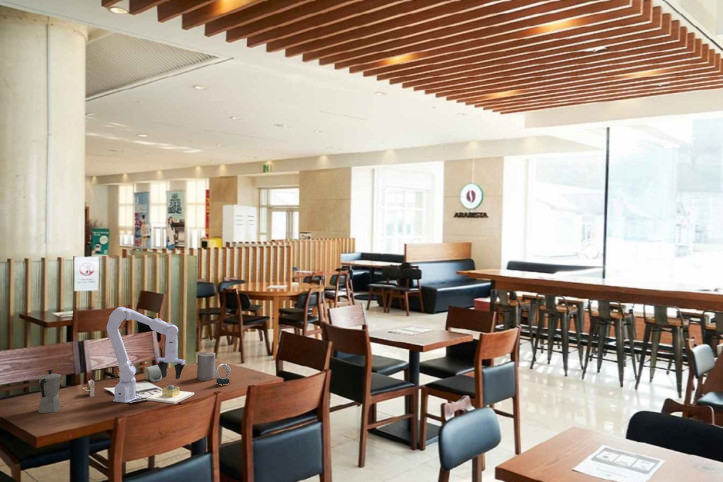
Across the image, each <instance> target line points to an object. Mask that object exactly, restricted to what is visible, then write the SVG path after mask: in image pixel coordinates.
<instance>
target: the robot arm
mask: <svg viewBox="0 0 723 482" xmlns="http://www.w3.org/2000/svg"><path fill="white" fill-rule="evenodd" d="M124 320H126V321H131V320H133V321H134V320H135V322H139V323H142V324H144V325H147V326H149V328H150V329H151V330H152V331H155V332H156V333H159V334H161V335H165V345H164V347H165V348H164V349H165V351H164V353H165V355H164V357H157V359H156V361H157V365H158V366H159V368H160V370H161V373H162V379H163V378H166V377H167V369H168V365H169V364H174V369H175V380H179V379H180V378H181V375H182V371H183V369H184V367H185V365H186V359H181V358H178V357H179V356H178V353H179V351H178V349H179V348H178V347H179V340H178V335H179V334H178V333H179V328H178V327H177V325H175V324H173V323H172V322H166V321H164V320H162V318H160V317H158V318H157V317H156V318H153V319H152V318H150V317H148V316H146V315H144V314H142V313H140V312H138V311H136V310H133V309H131V308H127V307H126V306H118V307H117V308H115V309H114V310H113V311H112V312H111V314H110V315H109V316H108V322H107V324H106V332H107V334H108V338H109V340H110V343H111V345H112V348H113V351H114V354H115V356H116V357H115V358H116V360H117V363H118V370H119V382H118V383H117V384H116V385H115V386H114V398H113V399H112V401H113V402H117V403H123V404H124V403H130V402H132V401H135V400H137V399H139V398H140V396H136V391H137V390H136V389H137V388H136V387H137V384H136V383H137V379H136V377H135V375H136V374H137V368H136V366H134V365H133V363H132V361H131V360H130V357H129V355H128V352H127V349H126V347H125V344H124V341H123V338H122V335H121V333H120V332H121V331H120V329H119V328H120V326H121V324H122V323H123V321H124Z"/></svg>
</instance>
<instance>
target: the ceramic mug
mask: <svg viewBox="0 0 723 482" xmlns="http://www.w3.org/2000/svg"><path fill="white" fill-rule="evenodd" d="M143 375H144V379H145V380H146V381H151V382H152V383H159V382H161V381H162V379H163V378H162V373H161V370H160V368H159V366H158V364H155V365H151V366H147V367H145V368H144V370H143Z"/></svg>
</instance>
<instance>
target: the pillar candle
mask: <svg viewBox="0 0 723 482" xmlns="http://www.w3.org/2000/svg"><path fill="white" fill-rule="evenodd" d="M216 354H217V353H216V352H213V351H201V352H198V353H197V362H196V363H197V367H196V369H197V371H196V373H197V374H196V379H197V380H198V379H199V380H198V381H210V380H209V379H212V380H214V379H213V378H215V379H216Z"/></svg>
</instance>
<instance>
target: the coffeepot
mask: <svg viewBox="0 0 723 482" xmlns="http://www.w3.org/2000/svg"><path fill="white" fill-rule="evenodd" d="M47 371H48V373H47V374H43V375H40V376H38V382H39V384H38V385H39V387H40V388H39V390H40V393H41V394H40V395H41V396H40V400H39V406H38V413H40V414H51V413H56V412H59V411H60V410H61V403H60V402H61V401H60V398H59V397H60V396H59V390H60V385H61V384H60V383H61V379H62V374H58V373H52V372H53V370H52V369H48V370H47Z"/></svg>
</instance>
